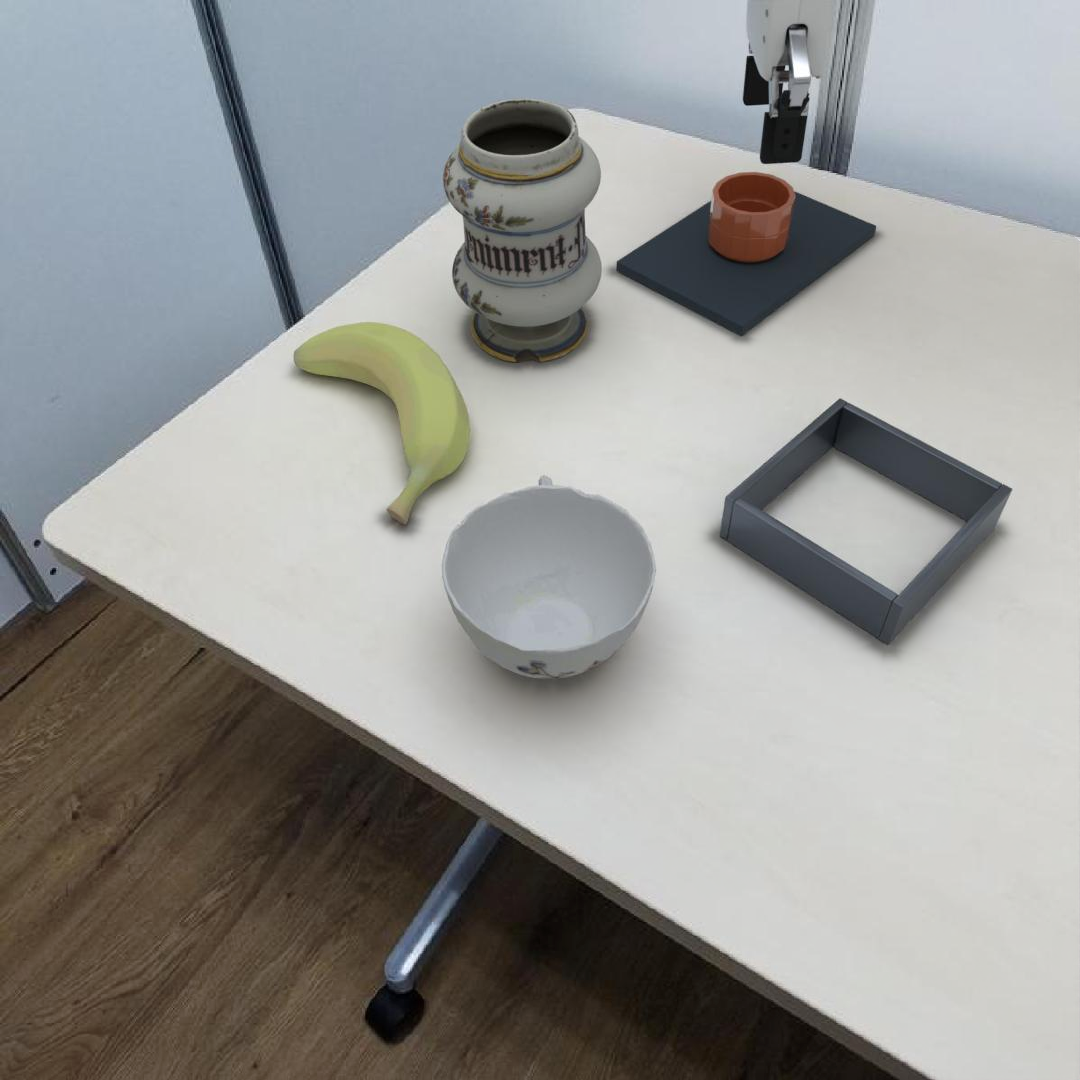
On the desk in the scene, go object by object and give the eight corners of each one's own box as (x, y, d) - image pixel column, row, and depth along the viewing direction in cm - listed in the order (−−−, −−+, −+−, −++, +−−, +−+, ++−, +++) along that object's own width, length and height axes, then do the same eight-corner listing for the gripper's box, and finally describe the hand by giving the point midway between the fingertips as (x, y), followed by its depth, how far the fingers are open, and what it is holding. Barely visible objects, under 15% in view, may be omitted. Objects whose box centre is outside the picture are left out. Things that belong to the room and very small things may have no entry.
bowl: (739, 213, 95) (745, 163, 91) (801, 241, 91) (811, 190, 88) (691, 245, 92) (696, 194, 88) (754, 275, 88) (762, 224, 84)
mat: (751, 182, 100) (752, 173, 99) (874, 235, 93) (876, 225, 93) (616, 270, 91) (616, 261, 90) (741, 336, 84) (742, 326, 84)
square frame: (829, 437, 76) (840, 397, 73) (994, 528, 70) (1013, 488, 67) (719, 536, 70) (724, 496, 67) (887, 645, 64) (902, 607, 61)
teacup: (657, 721, 61) (665, 644, 55) (450, 727, 61) (435, 651, 55) (638, 532, 71) (643, 450, 65) (459, 538, 71) (448, 456, 65)
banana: (439, 276, 79) (461, 479, 68) (462, 324, 84) (487, 522, 72) (279, 327, 81) (275, 531, 70) (311, 371, 86) (312, 570, 75)
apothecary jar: (462, 379, 82) (437, 173, 68) (456, 291, 90) (433, 90, 76) (610, 366, 82) (615, 159, 69) (591, 279, 90) (592, 78, 77)
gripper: (880, -64, 65) (837, 183, 78) (828, -147, 76) (798, 81, 89) (762, -56, 65) (738, 189, 78) (728, -140, 76) (712, 86, 89)
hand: (770, 131), depth 83 cm, fingers open, 9 cm apart
